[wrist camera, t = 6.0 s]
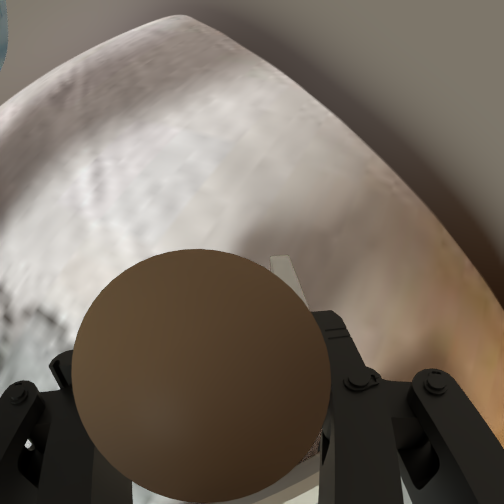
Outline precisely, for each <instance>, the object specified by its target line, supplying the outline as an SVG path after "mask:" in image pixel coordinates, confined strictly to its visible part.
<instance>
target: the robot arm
mask: <svg viewBox="0 0 504 504" xmlns="http://www.w3.org/2000/svg"><path fill="white" fill-rule="evenodd" d="M7 45H8V20H7V9H6V0H0V70H1V68H2V66H3V63H4V60H5V57H6V53H7ZM270 265H271V272H272V273H273V274H275V275H277V276H278V277H279V278H280V279H282V280H283V281H284V282H285V283H286V284H287V285H289V286H290V287H291V288H292V289H293V290H294V291H295V293H296V294H297V295H298V296H299V297H300V298H301V299H302V300H303V302H304V303H305V305H306V306H307V307H308V304H307V302H306V299H305V296H304V294H303V291H302V289H301V286H300V283H299V281H298V278H297V276H296V273H295V270H294V268H293V265H292V263H291V260H290V258H289V255H281V256H270ZM308 309H309V307H308ZM309 310H310V309H309ZM311 313H312V315H313V317H314V319H315V321H316V322H317V324H318V326H319V328H320V330H321V333H322V336H323V339H324V342H325V344H326V347H327V352H328V357H329V362H330V372H331V389H330V400H329V405H328V409H327V413H326V417H325V420H324V422H323V425H322V429H323V430H322V434H321V438H320V442H319V446H318V451H320V472H319V495H318V504H404V499H403V491H402V483H401V478H402V481H403V483H404V485H405V488H406V490H407V492H408V495H409V497H410V499H411V502H412V504H504V449H503V447H502V446H501V444H500V443H499V441H498V440H497V438H496V437H495V435H494V434H493V432H492V431H491V429H490V428H489V426H488V425H487V423H486V422H485V421H484V419H483V418H482V416H481V415H480V414H479V412H478V411H477V409H476V408H475V407H474V405H473V404H472V402H471V401H470V400H469V398H468V397H467V396H466V394H465V393H464V392H463V390H462V389H461V388H460V386H459V385H458V384H457V382H456V381H455V380H454V378H452V377H451V376H450V375H449V374H448V373H446V372H444V371H442V370H438V369H424V370H422V371H420V372H418V373H417V374H416V375H415V377H414V378H413V380H412V382H396V381H387V380H384V379H382V378H381V376H380V374H378V373H377V372H376V371H375V370H374V369H371V368H369V367H366V366H365V364H364V362H363V360H362V358H361V356H360V354H359V352H358V350H357V348H356V346H355V344H354V342H353V340H352V338H351V337H350V334H349V332H348V330H347V329H346V326H345V324H344V322H343V320H342V318H341V317H340V316H338V315H337V314H336V313H335V312H333V311H332V310H329V311H318V312H311ZM72 356H73V350H69V351H65V352H63V353H61V354H59V355H58V356H56V357H55V358H54V359H53V360H52V361H51V363H50V364H49V368H50V370H51V372H52V374H53V376H54V377H55V379H56V381H57V383H58V385H59V387H60V390H56V391H48V392H39V391H38V389H37V387H36V386H35V384H34V383H32V382H30V381H24V380H22V381H18V382H15V383H14V384H12V385H10V386H9V387H8V388H7V389H6V390H5V392H4V393H3V394H2V396H1V397H0V504H133V499H132V481H131V480H130V479H128V478H127V477H125V476H124V475H123V474H122V473H120V472H119V471H118V470H117V469H116V468H115V467H113V466H112V465H111V464H110V463H109V462H108V460H107V459H106V458H105V457H104V456H103V455H102V454H101V453H100V451H99V450H98V449H97V447H96V446H95V444H94V443H93V442H92V440H91V439H90V437H89V435H88V433H87V431H86V429H85V427H84V425H83V423H82V421H81V418H80V416H79V413H78V410H77V407H76V403H75V399H74V394H73V387H72V377H71V375H72ZM27 439H28V440H29V441H30V442H31V443H32V445H31V446H30V448H26V447H25V446H24V445H25V443H26V441H27Z"/></svg>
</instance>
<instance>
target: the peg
mask: <svg viewBox="0 0 504 504" xmlns="http://www.w3.org/2000/svg"><path fill="white" fill-rule="evenodd" d="M71 377H72V387H73V394H74V399H75V403H76V407H77V410H78V413H79V416H80V418H81V421H82V423H83V425H84V427H85V429H86V431H87V433H88V435H89V437H90V439H91V440H92V442H93V443H94V444H95V446H96V447H97V449H98V450H99V451H100V453H101V454H102V455H103V456H104V457H105V458H106V459H107V460H108V462H109V463H110V464H111V465H112V466H113V467H115V468H116V469H117V470H118V471H119V472H120V473H122V474H123V475H124V476H125V477H127V478H128V479H130V480H131V481H133V482H135V483H136V484H138V485H139V486H141V487H143V488H145V489H147V490H149V491H152V492H154V493H156V494H159V495H162V496H165V497H168V498H171V499H176V500H181V501H186V502H197V503H215V502H225V501H230V500H235V499H240V498H243V497H246V496H249V495H252V494H254V493H257V492H259V491H261V490H263V489H265V488H267V487H269V486H271V485H273V484H274V483H276V482H277V481H278V480H280V479H281V478H283V477H284V476H285V475H287V474H288V473H289V472H290V471H291V470H292V469H293V468H294V467H295V466H296V465H297V464H298V463H299V462H300V461H301V460H302V459H303V458H304V456H305V455H306V454H307V452H308V451H309V450H310V448H311V447H312V445H313V443H314V442H315V440H316V438H317V436H318V434H319V433H320V430H321V428H322V425H323V422H324V420H325V417H326V413H327V409H328V405H329V400H330V389H331V372H330V362H329V357H328V352H327V347H326V344H325V342H324V339H323V336H322V333H321V330H320V328H319V326H318V324H317V322H316V321H315V319H314V317H313V315H312V313H311V312H310V310H309V309H308V307H307V306H306V305H305V303H304V302H303V300H302V299H301V298H300V297H299V296H298V295H297V294H296V293H295V291H294V290H293V289H292V288H291V287H290V286H289V285H287V284H286V283H285V282H284V281H283V280H282V279H280V278H279V277H278V276H277V275H275V274H273V273H272V272H270V271H269V270H267V269H266V268H264V267H263V266H261V265H259V264H257V263H254V262H252V261H250V260H248V259H246V258H243V257H240V256H237V255H234V254H230V253H226V252H221V251H216V250H205V249H188V250H178V251H172V252H167V253H163V254H160V255H156V256H153V257H151V258H148V259H146V260H144V261H141V262H139V263H137V264H135V265H134V266H132V267H130V268H129V269H127V270H125V271H124V272H123V273H121V274H120V275H119V276H117V277H116V278H115V279H113V280H112V281H111V282H110V283H109V284H108V285H107V286H106V287H105V288H104V289H103V290H102V291H101V293H100V294H99V295H98V296H97V298H96V299H95V300H94V302H93V303H92V305H91V306H90V308H89V310H88V311H87V313H86V315H85V316H84V319H83V321H82V323H81V326H80V328H79V330H78V334H77V337H76V341H75V344H74V350H73V356H72V375H71Z"/></svg>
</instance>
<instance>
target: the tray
mask: <svg viewBox="0 0 504 504" xmlns="http://www.w3.org/2000/svg"><path fill="white" fill-rule="evenodd" d="M319 472H320V453H318V454H316V455H315V456H313V457H311V458H309V459H307V460H306V461H304V462H302V463H300V464H298V465H296V466H295V467H294V468H293V469H292V470H291V471H290V472H289V473H288V474H287V475H285V476H284V477H283V478H281V479H280V480H278V481H277V482H276V483H274V484H273V485H271V486H269V487H267V488H265V489H263V490H261V491H259V492H257V493H254V494H252V495H249V496H246V497H243V498H240V499H235V500H230V501H225V502H215V503H209V504H318V495H319ZM401 483H402V491H403V499H404V504H412V502H411V499H410V497H409V495H408V492H407V490H406V488H405V485H404V483H403V481H402V478H401Z"/></svg>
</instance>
